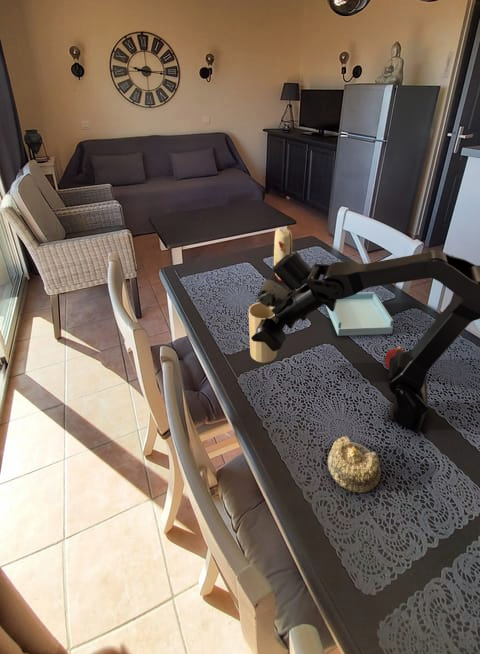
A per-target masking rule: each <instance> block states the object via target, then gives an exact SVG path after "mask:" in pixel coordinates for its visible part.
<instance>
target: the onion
mask: <svg viewBox="0 0 480 654" xmlns="http://www.w3.org/2000/svg"><path fill="white" fill-rule="evenodd" d="M398 349H401V350H402V351H403V352H406V351H405V350H404V349H403V347H402V346H400V345H399V346H397V347H395V348H392V349H390V350H388V351H387V352H386V354H385V357H384V364H385V366H386V368H387V369H388V370H389V362H390V358H392V357H393V356H394V355H395V354H396V352H397V350H398Z"/></svg>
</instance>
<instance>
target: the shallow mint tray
mask: <svg viewBox="0 0 480 654" xmlns="http://www.w3.org/2000/svg"><path fill="white" fill-rule="evenodd" d="M325 308H326V310H327V312H328V313H327V314H328V316H329V317H330V320H331V323H332V325H333V327H334V330H335V332H336V334H337V336H338V337H342V336H343V337H344V336H373V335H374V336H377V335H392V334H393V330H394V318H392V316H391V315H390V314H389V311H388V310H387V308H386V307H385V306H384V304H383V303H382V301H381V300H380V298H379V296H378V295H377V294H376V292H375V291H360V292H358V293H357V294H355V295H352V296H349V297H346V298H343V299H339V300H337V303H336V306H335V309H334V311H331V310H330V309H329V308H328V307H327V306H326V305H325Z"/></svg>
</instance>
